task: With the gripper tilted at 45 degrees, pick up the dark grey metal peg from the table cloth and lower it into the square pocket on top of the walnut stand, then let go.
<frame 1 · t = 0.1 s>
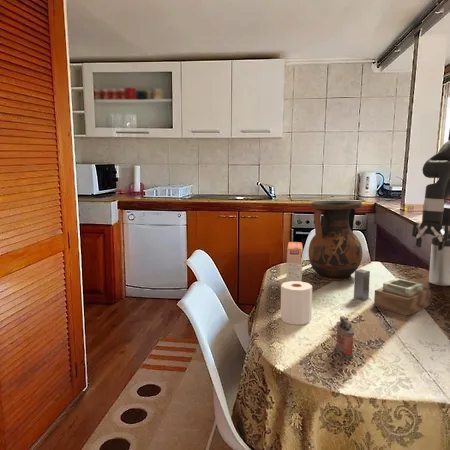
hand: (429, 248, 166), 17 cm above the table, tool pointing down, fingers open, 8 cm apart
cracker box: (293, 296, 162), on the table
lighter: (344, 352, 114), on the table
stand: (401, 305, 150), on the table
peg: (361, 298, 158), on the table
vase: (334, 276, 190), on the table
toilet paper: (295, 319, 138), on the table
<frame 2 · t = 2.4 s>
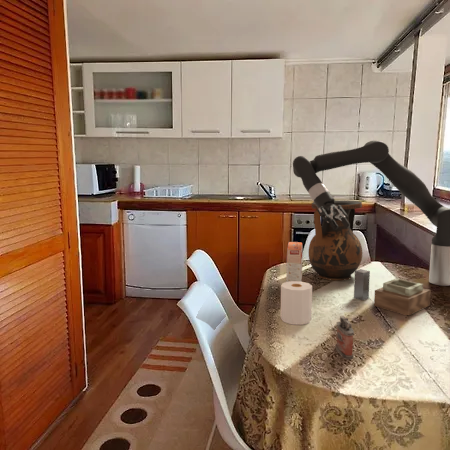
hand: (342, 227, 161), 27 cm above the table, tool tilted 40°, fingers open, 8 cm apart
nothing on the table moved.
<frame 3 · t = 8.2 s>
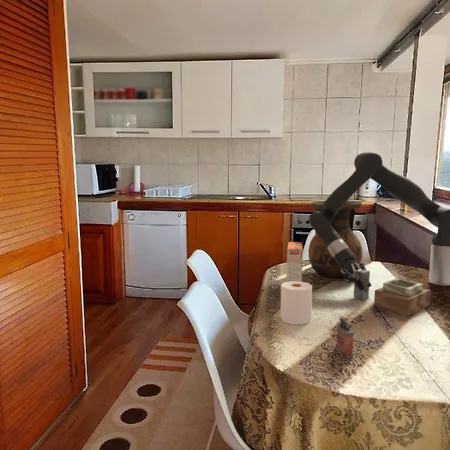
hand: (366, 287, 156), 5 cm above the table, tool tilted 45°, fingers closed on peg, 4 cm apart
peg: (361, 298, 158), on the table, touching gripper
everything else where it was.
when the fingers open (12 cm above the table, at t = 14.5 s): peg drops 1 cm, resting on stand.
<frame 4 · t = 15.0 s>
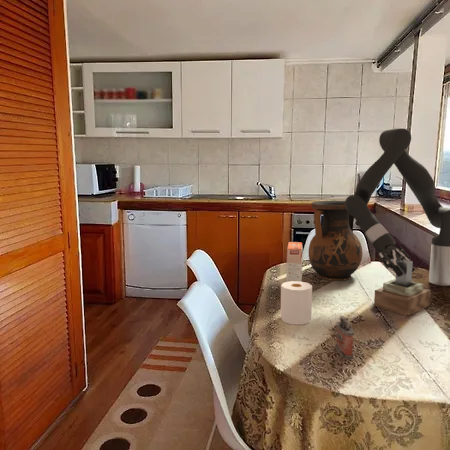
hand: (407, 273, 147), 13 cm above the table, tool tilted 45°, fingers open, 8 cm apart
peg: (402, 290, 149), point 6 cm above the table, touching stand
everything else where it was.
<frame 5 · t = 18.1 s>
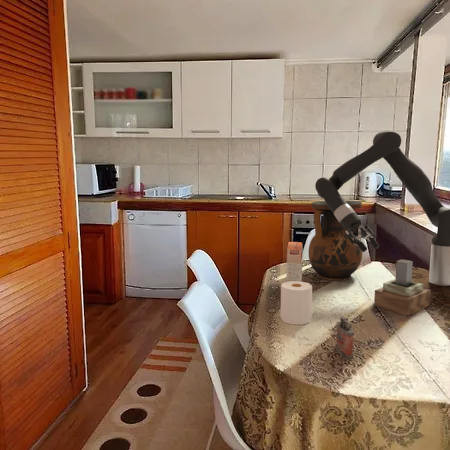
hand: (371, 249, 157), 19 cm above the table, tool tilted 45°, fingers open, 8 cm apart
nothing on the table moved.
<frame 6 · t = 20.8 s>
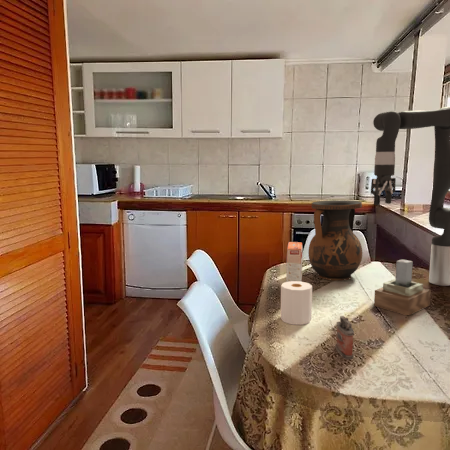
hand: (382, 204, 162), 36 cm above the table, tool pointing down, fingers open, 8 cm apart
nothing on the table moved.
at the end: peg 0.1 cm off-centre on the stand, point 6.0 cm above the stand's base; peg tilted 0°; the gripper is holding nothing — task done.
